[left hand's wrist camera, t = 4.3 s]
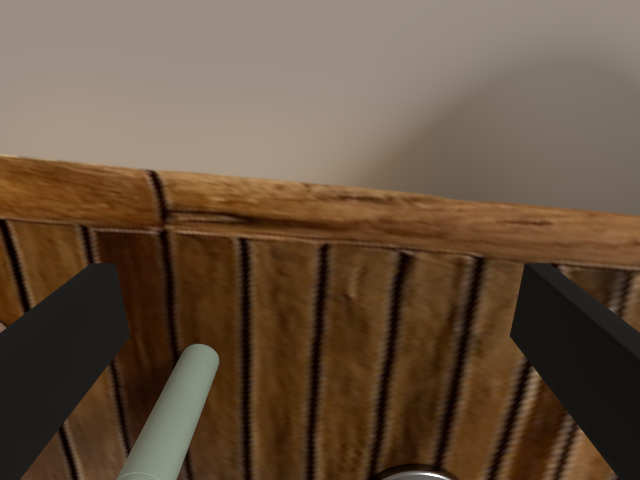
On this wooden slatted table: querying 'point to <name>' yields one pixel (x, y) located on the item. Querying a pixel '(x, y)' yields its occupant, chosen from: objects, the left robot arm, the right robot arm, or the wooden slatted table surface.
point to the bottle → (173, 418)
